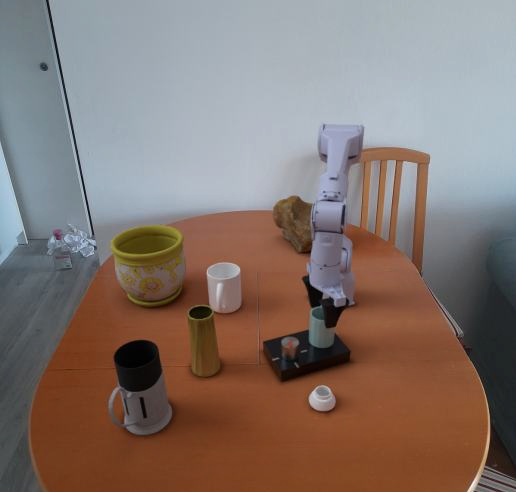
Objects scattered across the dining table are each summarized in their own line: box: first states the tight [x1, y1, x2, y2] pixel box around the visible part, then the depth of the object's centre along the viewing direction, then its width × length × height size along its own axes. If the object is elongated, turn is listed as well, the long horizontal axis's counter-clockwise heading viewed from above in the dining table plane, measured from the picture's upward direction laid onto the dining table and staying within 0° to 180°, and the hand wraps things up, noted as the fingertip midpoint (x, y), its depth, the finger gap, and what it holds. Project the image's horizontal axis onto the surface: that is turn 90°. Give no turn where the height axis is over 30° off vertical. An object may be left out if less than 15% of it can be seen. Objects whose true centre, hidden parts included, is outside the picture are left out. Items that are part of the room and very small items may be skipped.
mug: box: [206, 262, 243, 314], centre depth 110 cm, size 12×8×10 cm
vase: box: [187, 304, 221, 378], centre depth 91 cm, size 6×6×14 cm
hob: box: [262, 329, 352, 382], centre depth 96 cm, size 16×10×3 cm, turn 111°
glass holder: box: [108, 339, 173, 436], centre depth 77 cm, size 9×14×15 cm, turn 167°
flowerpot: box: [109, 224, 187, 308], centre depth 116 cm, size 18×18×16 cm
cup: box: [308, 306, 336, 348], centre depth 95 cm, size 5×5×7 cm
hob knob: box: [281, 337, 299, 361], centre depth 92 cm, size 4×4×4 cm
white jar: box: [308, 385, 337, 412], centre depth 84 cm, size 5×3×5 cm
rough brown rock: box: [272, 195, 314, 254], centre depth 140 cm, size 23×17×15 cm
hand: (322, 316), depth 94 cm, fingers open, 7 cm apart
